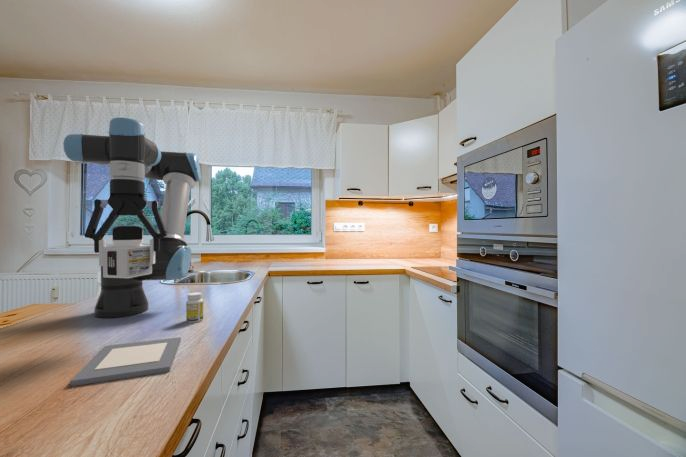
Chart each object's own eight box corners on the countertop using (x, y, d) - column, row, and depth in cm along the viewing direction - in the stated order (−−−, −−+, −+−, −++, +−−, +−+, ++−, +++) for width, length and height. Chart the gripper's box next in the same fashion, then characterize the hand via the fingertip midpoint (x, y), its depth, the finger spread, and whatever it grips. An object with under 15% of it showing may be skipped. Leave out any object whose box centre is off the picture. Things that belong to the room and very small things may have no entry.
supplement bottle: (198, 317, 100) (198, 291, 100) (206, 320, 98) (206, 293, 98) (183, 321, 97) (183, 294, 96) (191, 323, 94) (191, 296, 94)
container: (127, 278, 77) (127, 226, 77) (102, 277, 78) (101, 226, 78) (152, 273, 85) (152, 226, 84) (128, 272, 86) (128, 225, 86)
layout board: (104, 350, 74) (104, 345, 74) (180, 341, 80) (180, 336, 80) (70, 386, 57) (70, 379, 57) (169, 371, 63) (169, 365, 63)
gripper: (65, 175, 74) (66, 268, 74) (175, 180, 82) (175, 264, 82) (79, 179, 81) (80, 264, 81) (178, 183, 89) (179, 261, 89)
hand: (128, 264), depth 82 cm, fingers closed on container, 10 cm apart
